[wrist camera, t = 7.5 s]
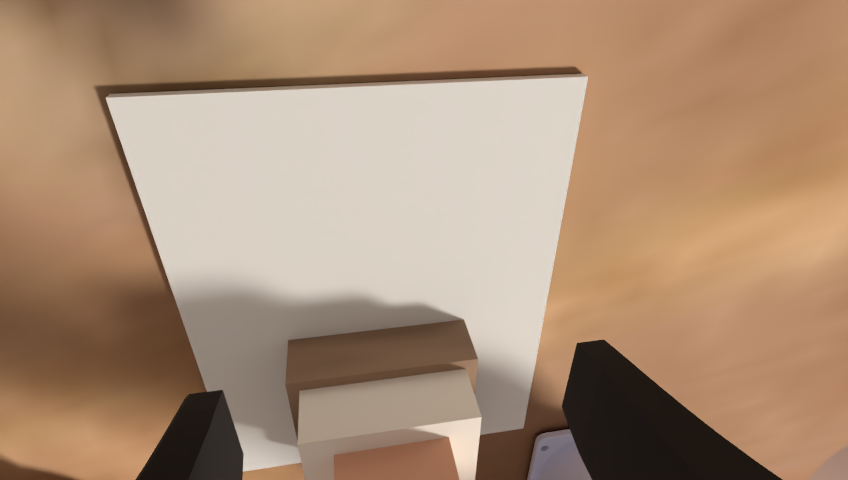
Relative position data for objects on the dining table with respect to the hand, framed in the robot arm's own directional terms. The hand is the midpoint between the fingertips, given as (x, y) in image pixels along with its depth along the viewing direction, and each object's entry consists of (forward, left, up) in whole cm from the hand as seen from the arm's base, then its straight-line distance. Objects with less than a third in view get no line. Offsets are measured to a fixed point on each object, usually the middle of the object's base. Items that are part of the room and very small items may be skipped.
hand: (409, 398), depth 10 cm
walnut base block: (-11, 0, -10) cm, 15 cm away
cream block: (-11, 0, -8) cm, 14 cm away
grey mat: (-6, 0, -10) cm, 12 cm away
